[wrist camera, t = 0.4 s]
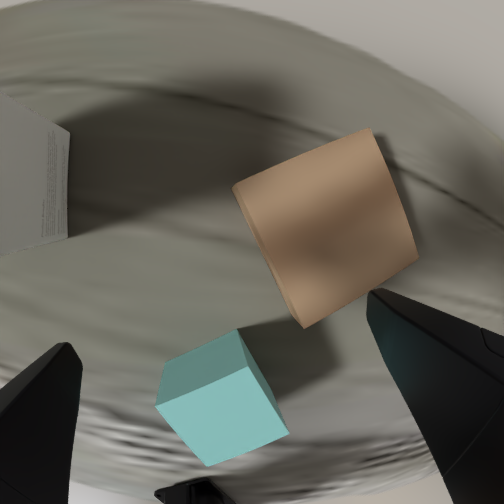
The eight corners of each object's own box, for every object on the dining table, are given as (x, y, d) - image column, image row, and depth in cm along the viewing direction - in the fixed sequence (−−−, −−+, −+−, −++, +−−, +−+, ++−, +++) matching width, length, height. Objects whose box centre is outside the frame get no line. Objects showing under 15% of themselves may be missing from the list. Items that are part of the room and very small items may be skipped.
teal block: (270, 388, 22) (289, 433, 17) (204, 417, 22) (207, 466, 16) (236, 328, 22) (248, 366, 16) (165, 361, 21) (154, 406, 15)
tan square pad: (397, 253, 23) (419, 258, 20) (291, 315, 22) (304, 328, 19) (350, 137, 21) (369, 127, 18) (230, 188, 20) (235, 183, 17)
